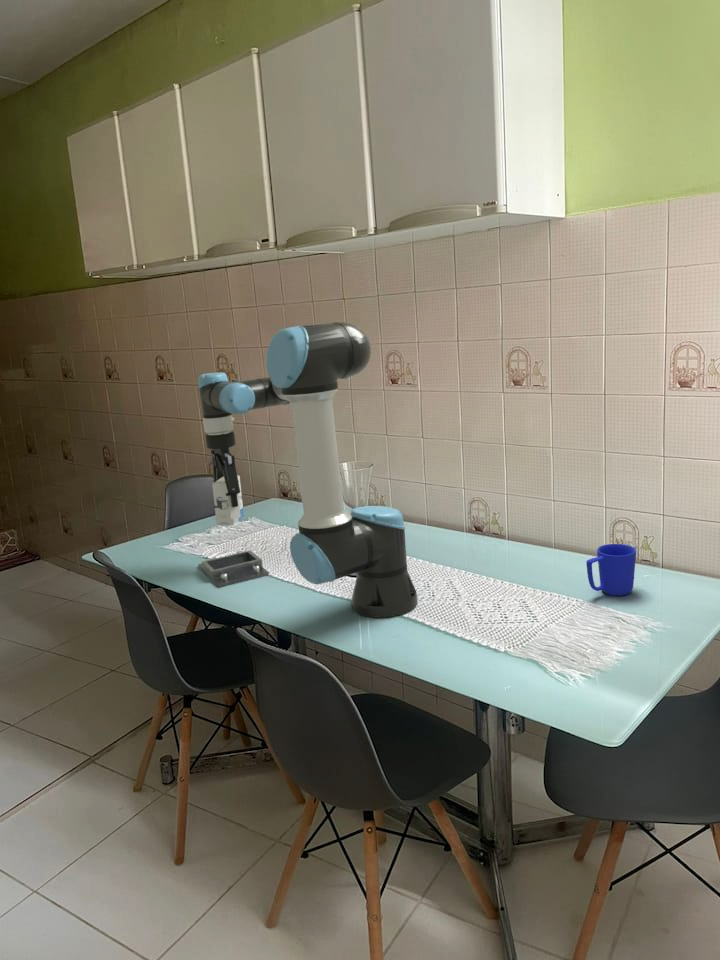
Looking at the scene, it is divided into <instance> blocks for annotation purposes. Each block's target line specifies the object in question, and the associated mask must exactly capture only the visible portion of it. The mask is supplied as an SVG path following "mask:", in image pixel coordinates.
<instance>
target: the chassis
mask: <svg viewBox="0 0 720 960" xmlns="http://www.w3.org/2000/svg"><path fill="white" fill-rule="evenodd" d="M197 566H198V568H199V569H200V570H201V571H202V572H203V573H204V574H205V576H207V577H208V578H209V580H211V582H212V583H213V584H214V585H215V586H216V587H217V588H218V589H219V588H224V587H228V586H231V585H235V584H239V583H243V582H247V581H252V580H256V579H259V578H262V577H266V576H269V575H270V572H269V571H268V570H267V569H265V568H264V567H263V560H262V558H260V557H259V556H258V555H257V554H256V553H254V552H253V551H251V549H250V550H246V551H241V550H239V551H236V553H234V554H232V553H231V554H229V555H224V556H219V557H216V558H211V557H210V558H206V559H205V560H203V561H201V563H198V565H197ZM268 574H269V575H268Z"/></svg>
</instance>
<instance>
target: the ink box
mask: <svg viewBox="0 0 720 960" xmlns="http://www.w3.org/2000/svg"><path fill="white" fill-rule="evenodd" d="M237 477H238V483H239V488H240V493H238V499H239V507H240V515H241V517H239V518H235V519H230V514H229V506H228V498H227V496H226V493H228V491H227V487H226V483H225V479H224V476H223V477H222V478H220V479H219V480H217V481H216V482H214V481H213V482H212V483H211V485H212V494H213V496H212V497H213V502H214V504H213V505H214V514H215V521H216V522H215V523H216V526H232V527H233V526H234V525H235V524H236V523H237V522H239V521H240V520H241V519H242V518H244V517H245V513H244V505H243V504H244V503H243V494H242V486H241V477H240V475H238V474H237Z"/></svg>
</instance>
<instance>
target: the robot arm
mask: <svg viewBox="0 0 720 960" xmlns="http://www.w3.org/2000/svg"><path fill="white" fill-rule="evenodd" d="M371 355H372V347H371V343H370V340H369V338H368V336H367V334H366V333H365V332H364V331H363V330H362V328H360V327H358V326H357V325H355V324H352V323H349V322H345V321H344V322H343V321H337V322H336V321H335V322H330V323H318V324H309V325H307V324H306V325H296V326H291V327H287V328H282V329H279V330H278V331H277V332H276V333H274V335H273V336H272V337H271V340H270V342H269V344H268V347H267V352H266V368H267V373H268V376H267V377H262V378H254V379H247V380H240V381H234V382H230V381H229V379H228V376H227V374H226V372H221V371H219V372H218V371H217V372H209V373H203V374H200V375H199V376H198V378H197V379H198V381H197V382H198V392H199V399H200V405H201V412H202V413H201V414H202V422H203V429H204V433H205V435H204V436H205V443H206V448H208V449H209V450H210V453H211V461H212V474H213V483H214V482H216V481H217V480H219V479H220V478H222V477H223V476H224V479H225V483H226V487H227V491H228V493H226V496H227V498H228V506H229V514H230V519H235V518H239V517H241V515H240V507H239V499H238V493H240V488H239V483H238V477H237V475H238V473H237V468H236V461H235V456H234V455H233V454H232V453H230V448H232V447H234V446H235V445H236V436H235V431H233V430H234V423H233V422H234V421H235V418H234V417H233V415H244V414H246V413H248V412H250V411H253V410H254V411H255V410H260V409H265V408H269V407H276V406H282V405H289V404H290V410H291V418H292V425H293V426H292V427H293V436H294V443H295V450H296V458H297V468H298V474H299V483H300V485H299V486H300V490H301V491H300V492H301V499H302V507H303V515H302V516H301V517H300V518H299V519H298V522H297V525H298V526H297V527H298V533H295V535H293V536H292V537H291V538H290V542H289V550H290V556H291V558H292V562H293V563H294V566H295V567H296V569H297V571H298V572H299V574H300V575H301V577H302V578H304V579H305V581H307V582H309V583H311V584H313V585H323V584H326V583H328V582H329V583H332V582H335V581H336V580H338V579H341V578H345V577H346V576H350V575H352V574H355V573H356V578H355V583H354V588H353V591H352V595H351V605H352V609H353V611H354V612H356V613H357V614H359V615H360V616H364V617H368V618H391V617H396V616H400V615H403V614H406V613H409V612H410V611H412V610H414V609H415V608H416V606H417V605H418V592H417V590H416V588H415V585H414V582H413V580H412V578H411V575H410V573H409V572H408V571H409V570H408V560H407V549H406V548H407V546H406V535H405V532H406V531H405V529H406V527H405V523H404V517H403V514H402V512H401V511H400V510H399V509H398V508H394V507H389V506H382V505H381V506H380V505H365V506H358V507H355V508H353V509H351V511H350V513H349V512H348V511H347V510H346V509H345V506H344V497H343V490H342V489H343V488H342V479H341V472H340V471H341V470H340V463H339V462H340V460H339V453H338V443H337V434H336V426H335V425H336V424H335V423H336V422H335V415H334V405H333V398H334V396H335V395H336V393H337V392H338V391H339V386H338V385H339V384H338V380H346V379H348V378H350V377H354V376H355V375H358V374H360V373H361V372H363V370H364V369H365V368H366V367H367V366H368V364H369V362H370V359H371Z"/></svg>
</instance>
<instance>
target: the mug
mask: <svg viewBox="0 0 720 960" xmlns="http://www.w3.org/2000/svg"><path fill="white" fill-rule="evenodd" d="M596 553H597V556H595V557H592V558H590V559H588V560H586V570H587V573H586V574H587V580H588V583H589V587H591V589H592V590H594V591H597V592H598V591H603V593H605V594H606V595H609V596H615V597H617V596H619V597H622V596H626V595H629V594H631V592H632V591H633V588H634V582H635V581H634V579H635V572H636V571H635V569H636V559H637V558H636V557H637V550H636V548H635V547H633V546H632V545H628V544H624V543H623V544H622V543H608V544H603V545H600V546H599V547H598V548H597V549H596ZM596 562H597V563H598V564H597V565H598V574H599V583H600V584H599V586H596V585H595V581H594V575H593V564H595V563H596Z"/></svg>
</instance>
